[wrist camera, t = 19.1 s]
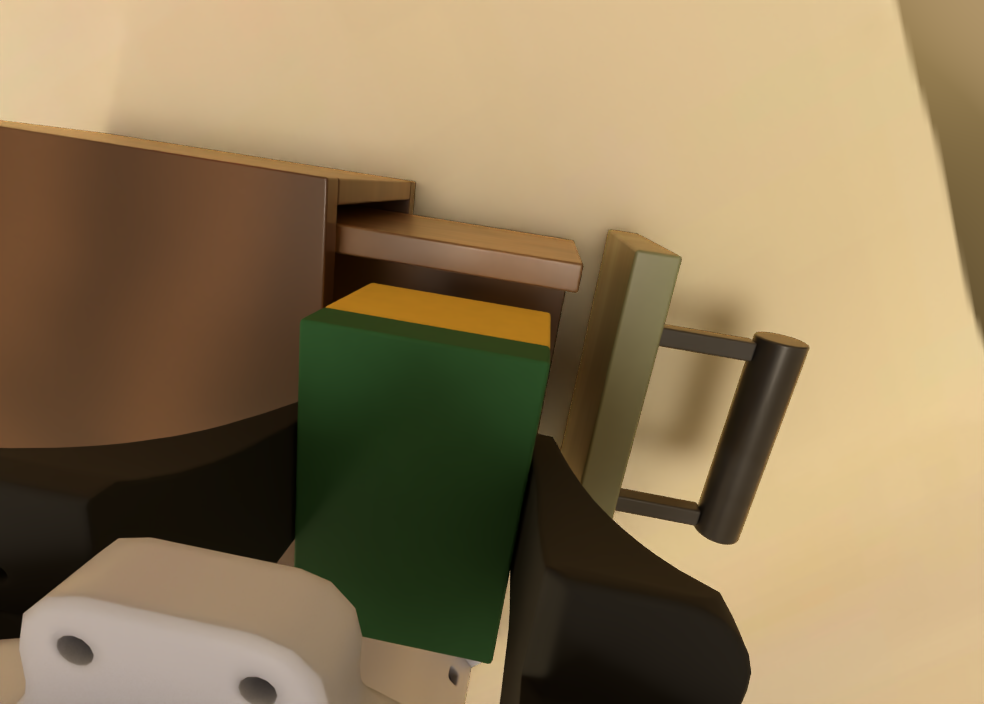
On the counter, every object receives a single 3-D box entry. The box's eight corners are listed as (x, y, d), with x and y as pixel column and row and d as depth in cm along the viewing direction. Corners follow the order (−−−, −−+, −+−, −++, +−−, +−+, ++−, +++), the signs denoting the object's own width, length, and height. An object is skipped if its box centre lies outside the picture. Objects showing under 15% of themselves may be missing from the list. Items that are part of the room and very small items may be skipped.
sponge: (551, 312, 13) (551, 362, 9) (506, 548, 15) (491, 666, 12) (370, 281, 13) (298, 318, 9) (354, 518, 16) (291, 623, 12)
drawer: (767, 254, 19) (877, 287, 12) (686, 506, 22) (739, 631, 16) (324, 184, 20) (217, 182, 13) (315, 435, 23) (228, 526, 17)
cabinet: (416, 181, 20) (327, 177, 12) (391, 451, 24) (312, 579, 16) (104, 133, 21) (-168, 99, 13) (129, 401, 25) (-67, 500, 17)
